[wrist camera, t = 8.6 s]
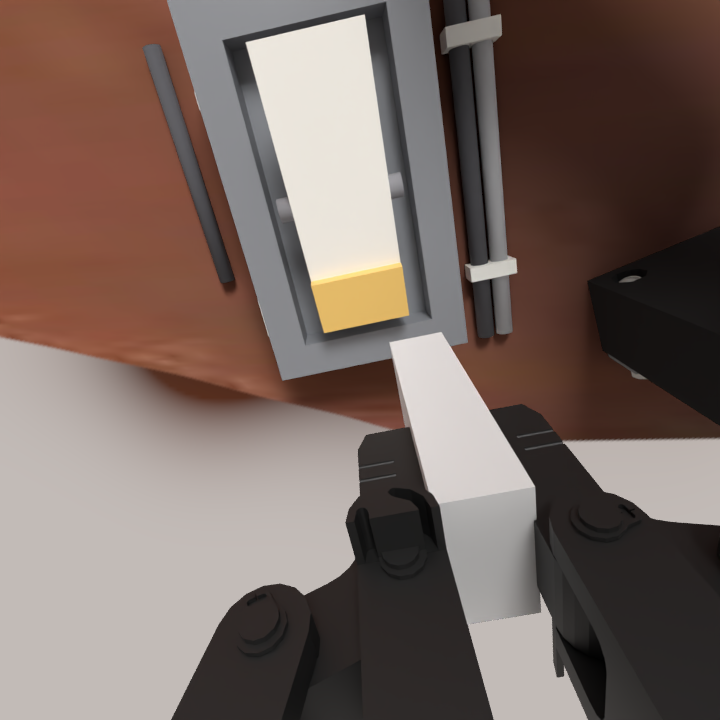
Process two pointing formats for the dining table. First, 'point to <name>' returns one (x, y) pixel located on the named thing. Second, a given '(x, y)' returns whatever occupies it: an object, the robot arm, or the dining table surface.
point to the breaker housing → (265, 184)
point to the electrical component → (667, 320)
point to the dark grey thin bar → (188, 159)
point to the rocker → (334, 168)
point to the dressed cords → (499, 266)
